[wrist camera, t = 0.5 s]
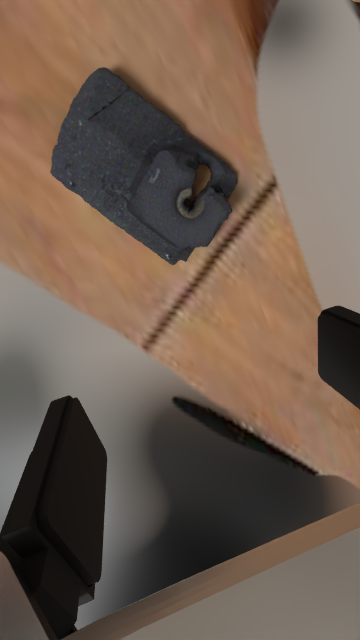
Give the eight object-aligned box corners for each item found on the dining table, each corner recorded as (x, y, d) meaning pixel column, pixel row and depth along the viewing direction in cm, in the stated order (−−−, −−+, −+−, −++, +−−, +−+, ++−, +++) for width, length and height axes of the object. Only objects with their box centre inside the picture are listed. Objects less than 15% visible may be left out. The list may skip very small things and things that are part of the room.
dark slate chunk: (106, 47, 28) (103, 16, 23) (243, 185, 36) (259, 180, 32) (40, 172, 30) (27, 165, 26) (181, 273, 39) (189, 280, 35)
